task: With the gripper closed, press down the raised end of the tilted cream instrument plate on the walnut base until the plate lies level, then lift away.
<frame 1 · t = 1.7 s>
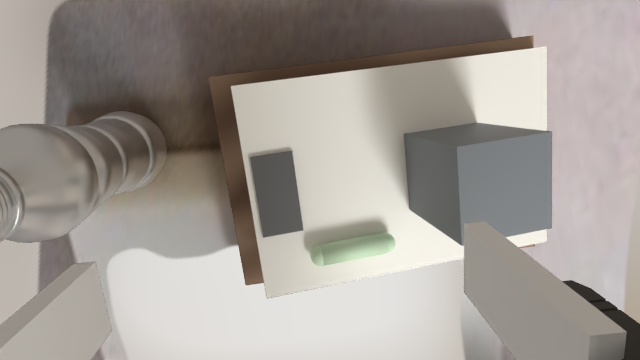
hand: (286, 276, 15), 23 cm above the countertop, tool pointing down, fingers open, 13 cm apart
walnut base: (375, 160, 38), on the countertop
instrument plate: (425, 181, 29), point 10 cm above the countertop, hinge at 8.0°
plastic bottle: (137, 146, 37), on the countertop
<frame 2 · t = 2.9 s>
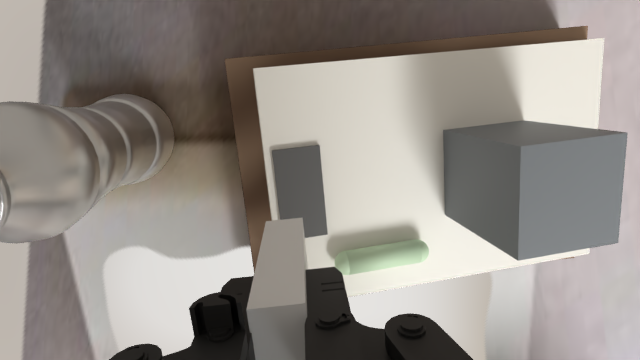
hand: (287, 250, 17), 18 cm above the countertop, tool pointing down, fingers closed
walnut base: (402, 158, 35), on the countertop
instrument plate: (469, 184, 25), point 10 cm above the countertop, hinge at 8.0°
plastic bottle: (141, 134, 33), on the countertop
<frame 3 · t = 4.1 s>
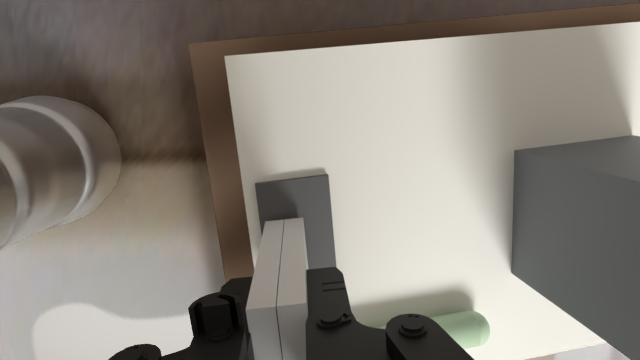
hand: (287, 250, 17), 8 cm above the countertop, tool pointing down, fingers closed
walnut base: (441, 183, 25), on the countertop
instrument plate: (565, 239, 16), point 9 cm above the countertop, hinge at 6.9°, touching gripper
plastic bottle: (78, 151, 24), on the countertop
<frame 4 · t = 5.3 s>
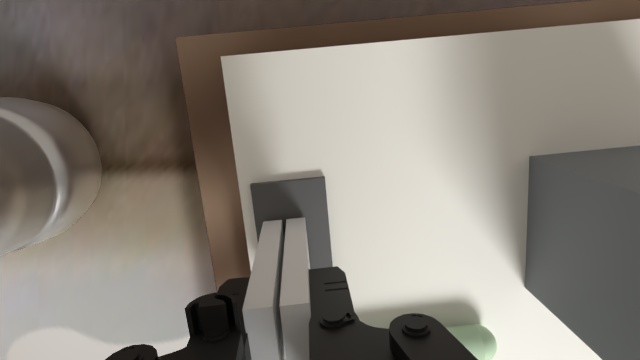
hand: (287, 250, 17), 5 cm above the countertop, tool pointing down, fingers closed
walnut base: (462, 196, 22), on the countertop
instrument plate: (576, 256, 15), point 8 cm above the countertop, hinge at 0.2°, touching gripper
plastic bottle: (54, 160, 21), on the countertop
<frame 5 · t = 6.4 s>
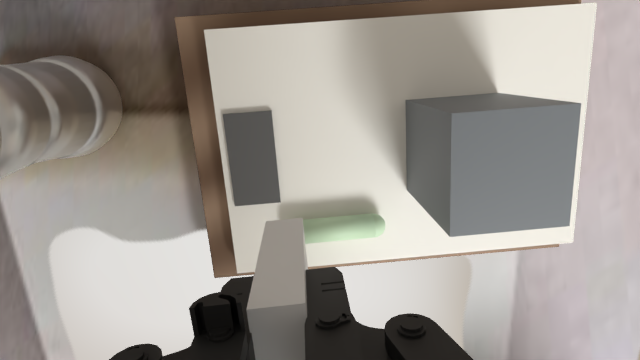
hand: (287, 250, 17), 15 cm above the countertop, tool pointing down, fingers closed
walnut base: (377, 135, 32), on the countertop
instrument plate: (421, 156, 24), point 8 cm above the countertop, hinge at 0.2°
plastic bottle: (87, 103, 30), on the countertop
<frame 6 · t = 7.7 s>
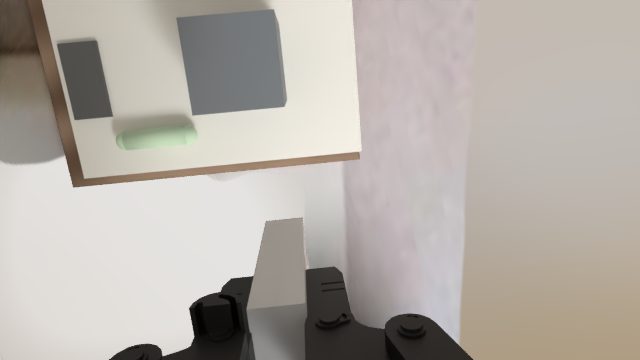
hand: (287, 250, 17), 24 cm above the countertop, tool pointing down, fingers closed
walnut base: (209, 71, 38), on the countertop
instrument plate: (201, 69, 31), point 8 cm above the countertop, hinge at 0.2°
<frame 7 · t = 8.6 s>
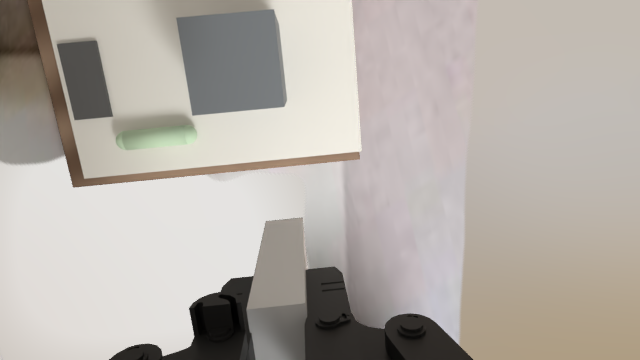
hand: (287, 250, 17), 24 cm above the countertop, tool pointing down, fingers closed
walnut base: (209, 71, 38), on the countertop
instrument plate: (201, 69, 31), point 8 cm above the countertop, hinge at 0.2°
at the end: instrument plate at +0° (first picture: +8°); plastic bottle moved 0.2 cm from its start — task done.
